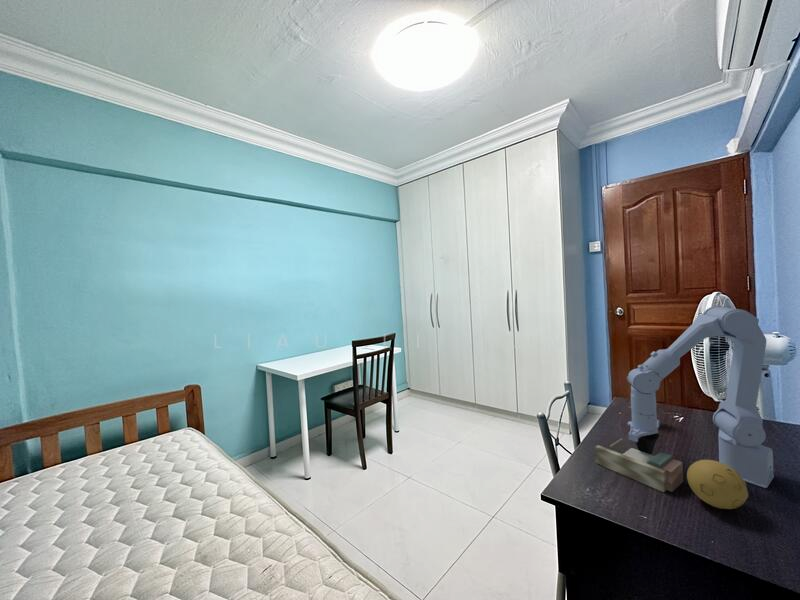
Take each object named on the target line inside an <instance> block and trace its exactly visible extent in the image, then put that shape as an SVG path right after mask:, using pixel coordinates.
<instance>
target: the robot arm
mask: <svg viewBox="0 0 800 600" xmlns="http://www.w3.org/2000/svg"><path fill="white" fill-rule="evenodd" d="M759 322H760V321H759V318H758V317H756V316H755V315H753V314H752V313H750V312H749V311H747V310H745V309H740V308H730V307H725V306H720V305H715V306H710V307H708V308H706V309H705V310H704V312H703V313H701V314H699V315H698V316H697V317H696V318H695V320H694V321H693V322H692V324H690V326H688V328H686V330H685V331H683V333H682V334H680V336H678V338H677V339H676V340H675V341H674V342H673V343H671V345H670V346H668V348H665V349H658V350H656V351H653V350H652V352H651V353H650V357H649V358H647V359H646V360H645V362H643V363H642V364H639V365H637V368H634V369H631V370H630V371H629V373H628V375H627V376H626V380H627V382H628V383H629V384H630V409H631V421H630V420H629V421H628V422H627V423H626V424H627V426H630V430H629V432H628V433H627V434H628V440H629V441H632V442H634V443H635V445H636V449H637V450H639V451H642V452H645V453H648V454H650V455H653V452H654V447H655V445H656V443H657V441H658V439H659V438H660V434H659V428H660V420H659V419H658V418H657V417H658V416H657V415H658V414H657V395H656V391H659V388H660V386H661V382H662V381H663V380H664V379H665V378H666V377H667V376H668V375H670V374H671V373H672V372H673V371H674V370H675V369H677V368H678V367H679V366H681V358H682V357H683V356H684V355H685V354H687V353H688V352H690V351H691V350H692V349H693V348H695V347H697V345H699V344H700V343H702V342H703V341H704V340H705V339H707V338H716V337H717V338H718V337H726V338H727V339H728V340H730V341H731V343H733V349H732V350H733V351H732V357H731V363H730V368H729V369H730V370H729V376H728V383H727V390H726V395H725V396H726V397H725V399H724V400H723V401H721V402H719V403H718V408H717V410H716V411H715V412H714V413H713V416H712V422H713V424H714V425H715V426H716V427H717V428H718V462H720V463H723V464H725V465H727V466H729V467H730V468H732V469H733V470H734V471H737V472H738V473H739V475H740V476H741V478H742V479H743V480H744V481H745V483H749V484H751V485H755V486H758V487H761V488H763V489H767V488H768V487H769V485H770V484H771V482H772V481H773V479H774V478H775V475H774V452H773V449H772V448H770V447H768V446H765V445H762V444H763V443H764V442H765V441H766V437H767V434H766V431H765V429H764V426H763V422H764V420H763V418H762V416H761V414H760V413H759V411H758V409H757V404H758V397H759V392H760V391H759V390H760V385H761V378H762V373H763V367H764V366H763V365H764V360H765V355H766V347H767V338H766V336H765V334H764V332H763V330H762V329H761V327H760V325H759Z"/></svg>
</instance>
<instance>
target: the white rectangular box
mask: <svg viewBox="0 0 800 600" xmlns="http://www.w3.org/2000/svg"><path fill="white" fill-rule="evenodd" d="M623 455H626V456H628V457H631V458H634V459H636V460H639V461H641V462H644V463H647V464H649V460H650V459H652V458H653V457H654V456H655V455H653V454H652V455H650V454H648V453H645V452H642V451H639V450H638V449H637V448H633V447H631V448H629V449H628V450H626V451H625V452H624V453H623Z"/></svg>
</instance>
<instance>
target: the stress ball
mask: <svg viewBox="0 0 800 600" xmlns="http://www.w3.org/2000/svg"><path fill="white" fill-rule="evenodd" d="M686 480H687V483H688V485H689V487H690V489H691V490H692V492H693V493H694V494H695V495H696V496H697V497H698V498H699V499H700V500H701V501H703V502H705V503H706V504H708V505H710V506H711V507H714V508H717V509H720V510H733V509H738V508H740V507H741V506H743V505H744V504H745V502H746V500H747V499H749V494H750V493H749V491H748V488H747V482H746V481H744V480H743V479H742V478H741V476H740V475H739V473H738V472H737V471H734V470H733V469H732V468H730V467H729V466H727V465H725V464H723V463H720V462H719V460H718V461H717V460H713V459H700V460H697V461H695V462H693V463H691V465H689V467H688V469H687V471H686Z"/></svg>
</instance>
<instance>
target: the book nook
mask: <svg viewBox="0 0 800 600" xmlns="http://www.w3.org/2000/svg"><path fill="white" fill-rule="evenodd" d="M594 449H595V463H596V464H597V465H599V464H600V465H599V466H601V465H602V466H601V467H603V468H606V469H608V470H611V471H613V472H615V473H617V474H620V475H622V476H625V477H627V478H630V479H633V480H634V481H637V482H638V483H641V484H644V485H646V486H647V487H650V488H652V489H655V490H658V491H659V492H662V493H665V492H666V491H668V492H669V493H670V492H671V493H673V492H674V491H675V490H676V489H677V488H678V487H679V486H680V485H681V484H682V483H683V482H684V471H683V468H684V467H683V461H681V460H677V459H674V458H672V457H673V456H672V455H671V454H669V453H665V452H664V451H663V452H662V451H658V453H657V454H656V455H653V456H654V457H653V458H652V459H650V460H649V464H647V463H644V462H641V461H639V460H636V459H634V458H631V457H628V456H626V455H623V453H625V452H624V438H623V437H622V438H619V439H617V440H616V441H615V442H613V443H611V444H610V445H609V447H608V448H607V447H604V446H602V445H599V444H598V445H596V446H595V448H594Z"/></svg>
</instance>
